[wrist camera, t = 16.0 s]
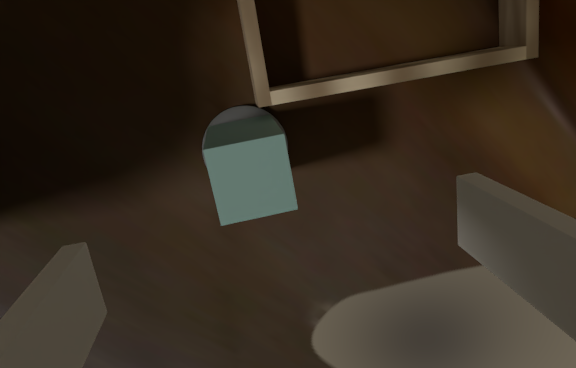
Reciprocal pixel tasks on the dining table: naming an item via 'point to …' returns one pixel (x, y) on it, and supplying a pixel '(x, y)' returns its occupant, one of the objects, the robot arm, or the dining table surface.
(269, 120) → the block
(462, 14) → the dining table surface
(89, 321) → the robot arm
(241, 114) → the coaster
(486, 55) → the tray
